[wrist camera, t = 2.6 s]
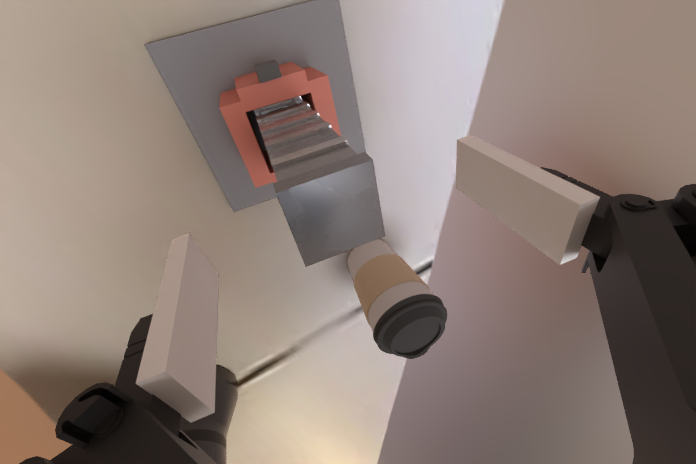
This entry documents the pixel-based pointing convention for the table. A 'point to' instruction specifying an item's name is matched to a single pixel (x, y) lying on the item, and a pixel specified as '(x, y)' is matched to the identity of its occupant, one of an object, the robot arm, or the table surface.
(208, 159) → the stand
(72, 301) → the table surface
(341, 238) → the column
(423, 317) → the coffee cup
